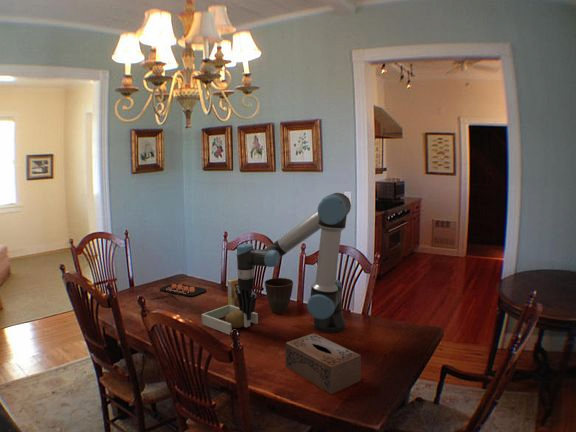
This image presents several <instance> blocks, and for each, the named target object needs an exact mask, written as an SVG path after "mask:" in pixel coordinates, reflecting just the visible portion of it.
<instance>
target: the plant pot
mask: <svg viewBox="0 0 576 432" xmlns="http://www.w3.org/2000/svg"><path fill="white" fill-rule="evenodd" d="M264 287H265V293H266V297H267V300H268V303H269V306H270V309H271V312H272V313H274V314H277V315H280V314H284V313H286V312H287V310H288V308H289V305H290V301H291V297H292V294H293V288H294V281H293V280H292V279H290V278H286V277H285V278H284V277H275V278H269V279H267V280H265V281H264Z"/></svg>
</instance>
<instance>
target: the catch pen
mask: <svg viewBox="0 0 576 432" xmlns="http://www.w3.org/2000/svg"><path fill="white" fill-rule="evenodd" d="M237 310H240V309H239V307H235V306H232V305H228V304H227V305H224V306H222V307H219V308H215V309H212V310H210V311H207V312H204V313H201V317H200V318H201V322H200V323H201V325H203V326H205V327H208V328H210V329H213V330H216V331H219V332H222V333H223V334H226V335H229V336H230V332H231V330H232V331H233V327H232V326H231V324H230V323H227V322H226V320H225V321H224V320H222V318H226V316H227V315H228V314H229V313H232V312H234V311H237ZM258 315H259V314H258V313H257V312H255V311H254V312H253V313H251V320H250V323H253V324H255V325H257V324H259V316H258Z"/></svg>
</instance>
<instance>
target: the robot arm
mask: <svg viewBox="0 0 576 432" xmlns="http://www.w3.org/2000/svg"><path fill="white" fill-rule="evenodd" d="M351 209H352V204H351V201H350V198H349V197H348V196H347V195H346V194H344V193H341V192H333V193H332V194H328V195H326V196H325V197H324V198H323V197H322V199H321V200H320V202H319V203H318V205H317V210H316V211H315V212H313V214H311V215H309V216H308V217H307V218H306V219H304V220H302V221H301V222H300V223H299V224H298V225H296V226H294V227H293V228H292V229H290V231H288V232H287V233H286V234H284V235H283V236H281V237H280V238H279V239H277V240H276V241H274V242H273V243H272V244H270V245H269V246H267V247H266V248H264V249H258V248H257V249H256V248H254V245H253V244H252V243H241V244H238V246H237V247H236V262H237V263H236V264H237V266H236V267H237V278H238V286H239V289H238V290H235V292H236V295H237V299H238V304H239V307H238V308H239V309H240V311H242V312H243V319H244V326H243V327H244V328H248V327H251V322H250V320H251V313H253V312H254V313H255V308H256V303H257V298H258V295H259V294H258V293H255V290H254V286H255V278H254V277H255V272H254V271H255V269H254V267H257V266H259V267H267V268H268V267H269V268H272V267H273V268H274V267H277V266H278V265H279V263H280V259H282V257H283V256H285V255H286V254H287V253H289V252H290V251H291V250H293V249H294V248H296V247H297V246H299V245H300V244H301V243H303V242H305V241H306V240H307V239H308V238H310V237H311V236H312V235H314V234H315V233H317V232H318V231H319V230H320V238H319V246H318V256H317V265H316V272H315V273H316V274H315V282H313V283H312V284H311V285H310V286H311V289H310V297H309V299H307V303H306V304H307V305H306V306H307V307H306V308H307V311H308V313H310V315H311V317H314V320H313V328H314V330H315V331H317V332H319V333H325V334H335V333H336V334H337V333H340V332H343V331H344V330H345V329H346V320H345V318H344V315H343V310H342V309H343V308H342V307H343V306H342V305H343V299H342V297H343V285H342V281H341V280H338V279H337V269H338V261H339V253H340V245H341V234H342V231H343V230H344V229H346V224H347V216H348V215H349V213H350V211H351Z"/></svg>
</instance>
